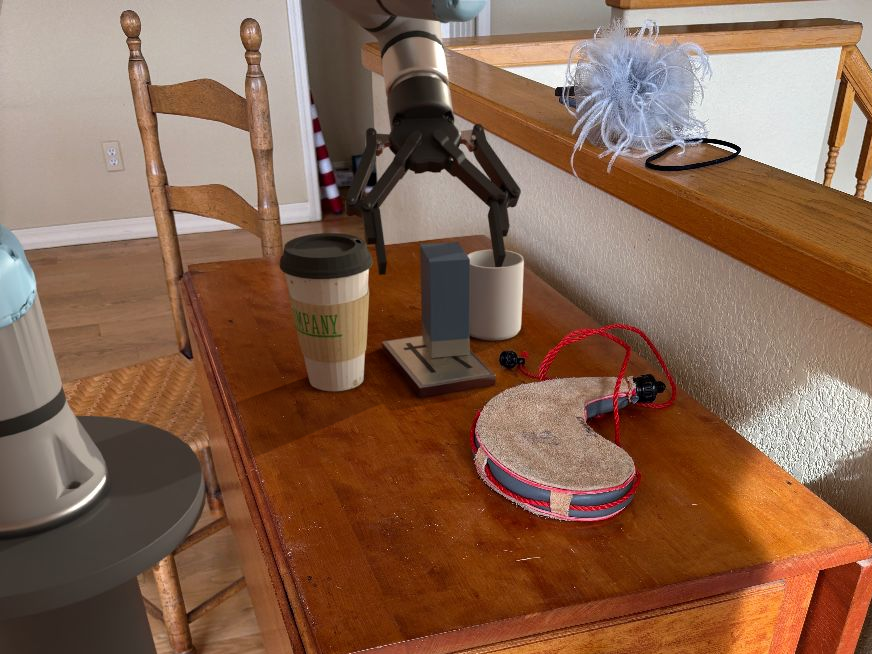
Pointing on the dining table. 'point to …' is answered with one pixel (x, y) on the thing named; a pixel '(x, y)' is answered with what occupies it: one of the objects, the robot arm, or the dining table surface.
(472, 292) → the cup
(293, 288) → the coffee cup
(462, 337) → the eraser
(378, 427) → the dining table surface
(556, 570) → the dining table surface
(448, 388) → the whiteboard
